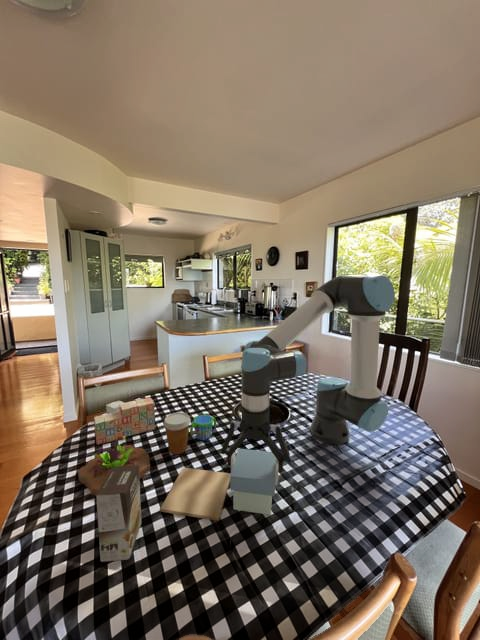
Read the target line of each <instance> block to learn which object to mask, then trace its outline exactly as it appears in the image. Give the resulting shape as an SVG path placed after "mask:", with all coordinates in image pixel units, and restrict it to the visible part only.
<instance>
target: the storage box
mask: <svg viewBox="0 0 480 640" xmlns="http://www.w3.org/2000/svg"><path fill="white" fill-rule="evenodd" d="M232 492H233V495H232V496H233V499H232V500H233V502H232V503H233V505H232V506H233V510H237V511H242V512H248V513H249V512H250V513H255V514H263V515H269V516H271V515H272V501H273V500H272V499H273V496H269V495H262V494H254V493H247V492H239V491H232Z"/></svg>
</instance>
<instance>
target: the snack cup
mask: <svg viewBox="0 0 480 640" xmlns="http://www.w3.org/2000/svg"><path fill="white" fill-rule="evenodd" d="M213 427H215V428H216V427H217V419H216V418H215V417H213V416H211V415H209V414H200V415H197V416H195V417H194V418H193V422H192V424H191V426H190V428H189V433H190V434H189V435H190V436H191V437H193V436H194V432H193V430H194V429H195V436H196V439H197V440H200V441H206V440H209V439H210V438H211V436H212V430H213V429H212V428H213Z"/></svg>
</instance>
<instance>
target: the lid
mask: <svg viewBox="0 0 480 640" xmlns="http://www.w3.org/2000/svg"><path fill="white" fill-rule="evenodd" d="M230 474H231V475H230V483H229V485H230V491H232V492H233V491H239V492H247V493H254V494H262V495H269V496H272V497H276V485H275V479H276V457H275V456H274V454H273V453H272V451H266V450H255V449H249V448H248V449H246V448H237V450H236V453H235V461H234V465H233V468H232V472H231V471H230Z"/></svg>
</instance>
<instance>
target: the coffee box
mask: <svg viewBox="0 0 480 640" xmlns="http://www.w3.org/2000/svg"><path fill="white" fill-rule="evenodd" d="M140 484H141V483H140V479H139V465H128V466H121V467H113V468H112V470H111V471H110V473H109V474H108V476H107V478H106V479H105V481H104V483H103V484H102V486H101V487H100V489H99V491H98V492H97V494H96V495H95V497H96V510H97V511H96V513H97V527H98V528H97V530H98V541H99V555H100V556H99V558H100V562H112V561H115V562H116V561H125V560H126V561H127V560H129V559H130V557H131V555H132V553H133V549H134V546H135V543H136V540H137V537H138V534H139V531H140V528H141V527H142V526H141V525H142V508H141V505H142V504H141V487H140Z"/></svg>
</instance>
